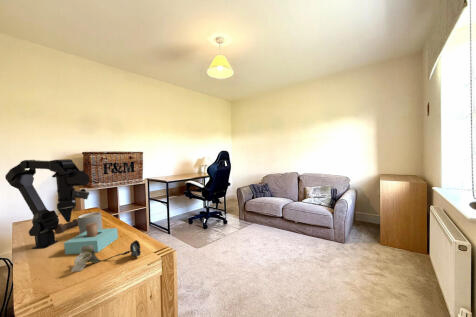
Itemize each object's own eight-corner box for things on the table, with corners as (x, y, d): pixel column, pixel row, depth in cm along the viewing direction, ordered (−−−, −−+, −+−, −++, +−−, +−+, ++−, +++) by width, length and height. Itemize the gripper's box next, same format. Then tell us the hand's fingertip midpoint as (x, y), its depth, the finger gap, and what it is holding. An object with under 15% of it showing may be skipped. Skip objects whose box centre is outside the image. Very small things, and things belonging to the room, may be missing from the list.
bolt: (84, 226, 126) (59, 235, 111) (78, 222, 127) (52, 231, 112) (87, 218, 125) (63, 226, 111) (81, 214, 126) (56, 222, 112)
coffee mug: (105, 232, 108) (103, 213, 108) (82, 238, 101) (80, 219, 101) (97, 227, 117) (95, 210, 117) (75, 233, 109) (74, 215, 109)
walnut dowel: (85, 247, 90) (83, 225, 90) (92, 243, 94) (90, 222, 94) (94, 247, 90) (92, 225, 90) (100, 243, 94) (98, 222, 94)
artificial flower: (136, 266, 75) (128, 244, 71) (70, 282, 72) (59, 261, 68) (143, 249, 83) (135, 229, 80) (84, 263, 80) (74, 243, 77)
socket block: (65, 254, 85) (63, 242, 85) (89, 239, 99) (88, 229, 99) (98, 252, 85) (97, 240, 85) (118, 238, 99) (117, 227, 99)
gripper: (88, 185, 91) (91, 219, 91) (86, 182, 105) (88, 211, 106) (55, 189, 84) (58, 226, 84) (57, 185, 98) (60, 217, 99)
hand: (68, 219), depth 94 cm, fingers open, 9 cm apart
